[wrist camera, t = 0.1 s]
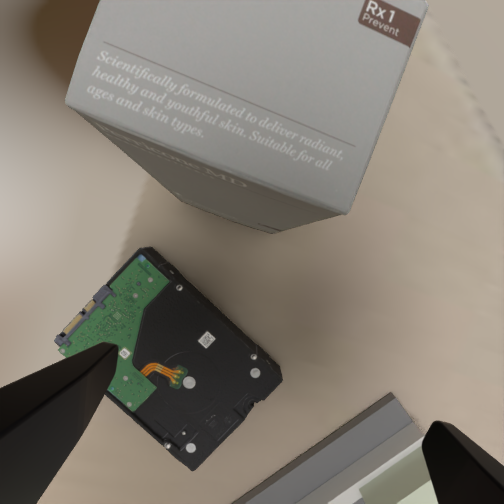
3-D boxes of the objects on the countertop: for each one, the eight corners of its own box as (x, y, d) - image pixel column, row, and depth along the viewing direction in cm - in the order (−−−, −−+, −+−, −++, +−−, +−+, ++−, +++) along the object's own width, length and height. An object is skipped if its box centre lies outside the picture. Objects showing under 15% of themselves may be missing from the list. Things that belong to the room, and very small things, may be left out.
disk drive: (281, 361, 24) (150, 243, 24) (286, 378, 22) (138, 244, 21) (199, 448, 25) (66, 334, 24) (194, 475, 22) (43, 348, 21)
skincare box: (179, 201, 23) (27, 126, 7) (210, 115, 23) (122, -167, 7) (278, 238, 23) (345, 245, 7) (310, 154, 23) (451, -28, 7)
